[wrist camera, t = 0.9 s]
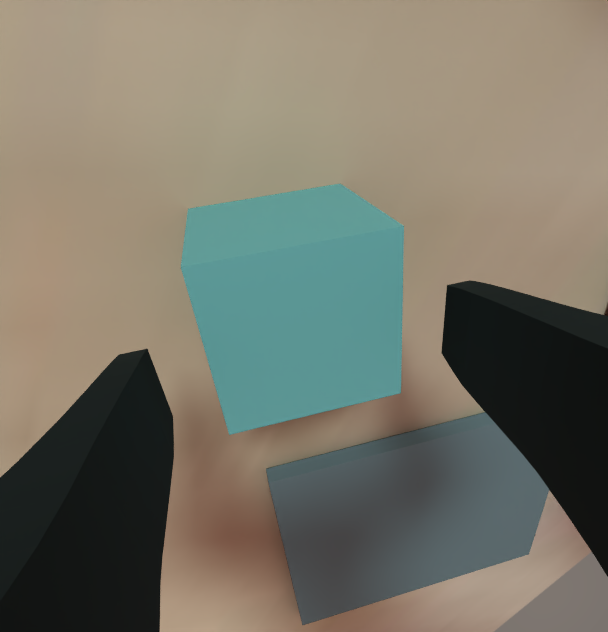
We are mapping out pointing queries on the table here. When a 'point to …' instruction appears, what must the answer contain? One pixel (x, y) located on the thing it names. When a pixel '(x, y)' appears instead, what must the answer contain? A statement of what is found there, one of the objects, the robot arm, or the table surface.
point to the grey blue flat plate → (403, 513)
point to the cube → (296, 302)
